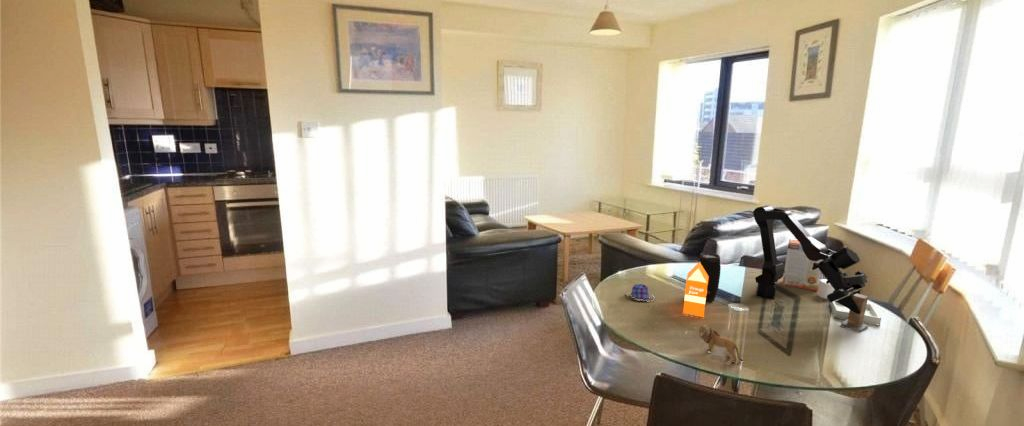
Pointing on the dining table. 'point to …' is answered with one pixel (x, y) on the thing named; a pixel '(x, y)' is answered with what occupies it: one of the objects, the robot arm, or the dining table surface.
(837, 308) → the tray
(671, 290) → the dining table surface
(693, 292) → the orange juice
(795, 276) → the cracker box
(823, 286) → the white cylinder
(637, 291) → the plaid hat
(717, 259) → the black tall cylinder
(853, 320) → the wooden post with base
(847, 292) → the robot arm
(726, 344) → the lion figurine
